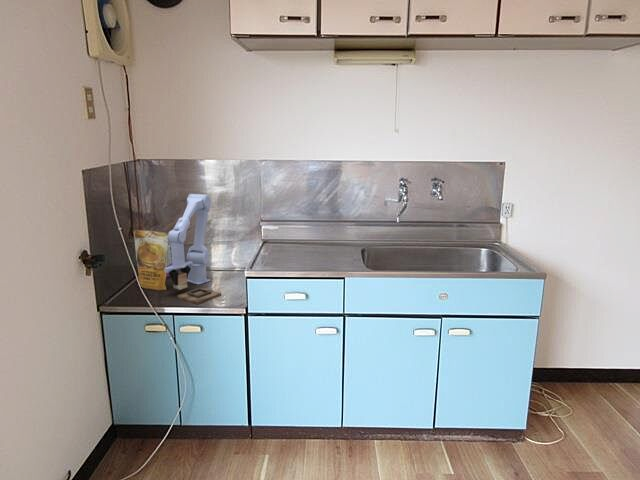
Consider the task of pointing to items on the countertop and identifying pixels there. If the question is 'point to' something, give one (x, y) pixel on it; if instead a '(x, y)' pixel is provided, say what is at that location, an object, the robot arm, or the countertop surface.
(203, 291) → the socket board
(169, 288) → the countertop surface
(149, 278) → the pancake mix bag
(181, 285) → the block stack
